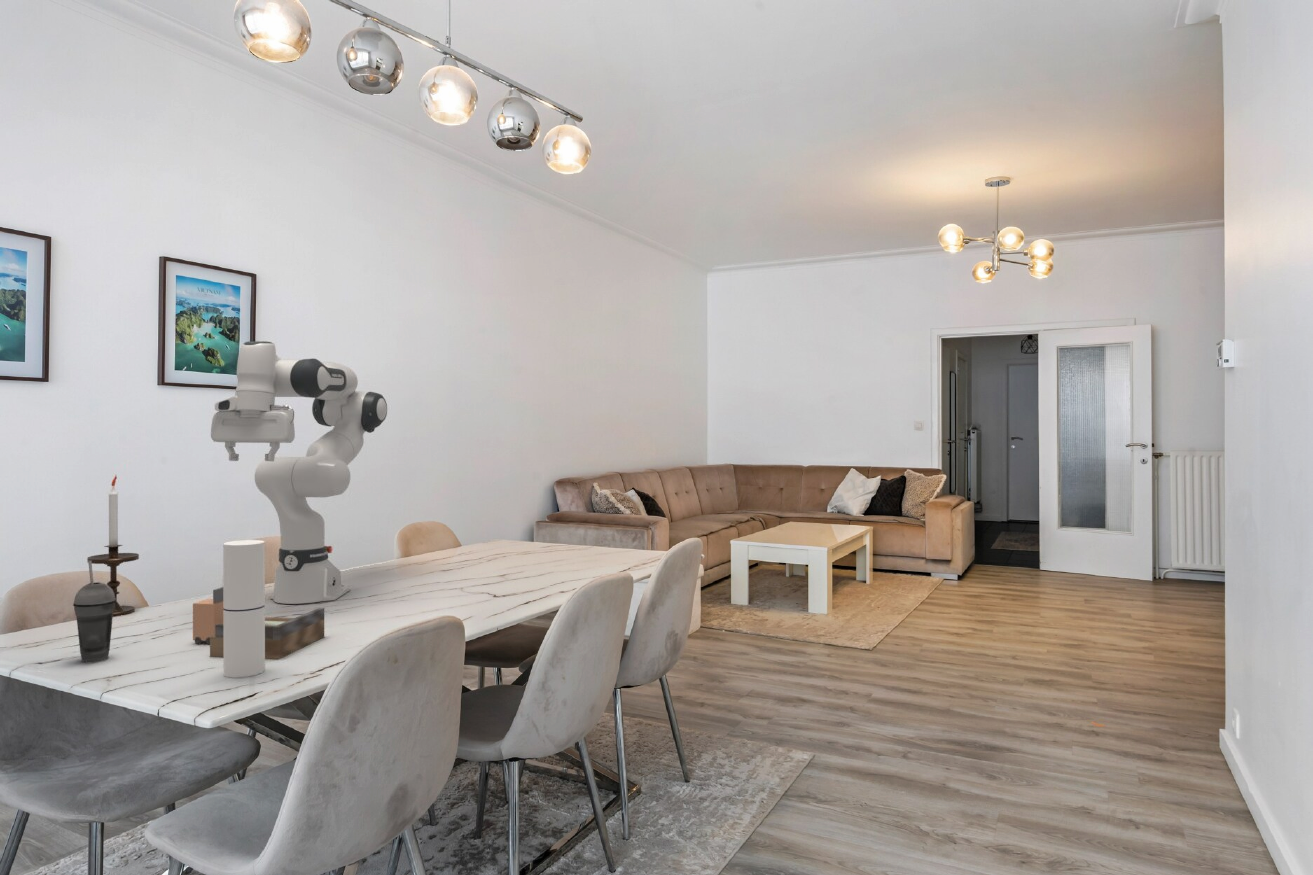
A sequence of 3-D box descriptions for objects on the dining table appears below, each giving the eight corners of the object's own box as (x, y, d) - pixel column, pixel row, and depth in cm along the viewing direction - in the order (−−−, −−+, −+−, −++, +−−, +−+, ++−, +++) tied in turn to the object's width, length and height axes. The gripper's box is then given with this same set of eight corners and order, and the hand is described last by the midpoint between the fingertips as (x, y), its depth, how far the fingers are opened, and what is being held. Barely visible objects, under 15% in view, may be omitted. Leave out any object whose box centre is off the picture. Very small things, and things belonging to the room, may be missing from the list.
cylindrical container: (221, 679, 153) (221, 546, 153) (225, 668, 160) (224, 541, 160) (264, 674, 156) (264, 544, 156) (265, 664, 163) (265, 539, 162)
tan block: (208, 637, 183) (207, 585, 183) (228, 638, 182) (228, 585, 182) (192, 643, 178) (192, 589, 178) (214, 644, 178) (214, 590, 177)
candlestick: (149, 608, 212) (148, 473, 211) (117, 618, 201) (116, 476, 201) (110, 607, 213) (109, 473, 213) (76, 617, 202) (75, 475, 202)
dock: (262, 634, 186) (261, 605, 186) (324, 636, 185) (324, 607, 185) (209, 656, 168) (209, 624, 168) (278, 659, 167) (278, 627, 167)
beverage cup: (94, 665, 162) (94, 564, 161) (63, 663, 163) (63, 563, 163) (125, 655, 169) (125, 558, 169) (95, 653, 170) (95, 557, 170)
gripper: (301, 406, 204) (298, 462, 203) (224, 406, 207) (221, 461, 205) (287, 403, 198) (284, 460, 197) (208, 403, 200) (204, 459, 199)
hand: (251, 461), depth 201 cm, fingers open, 8 cm apart
